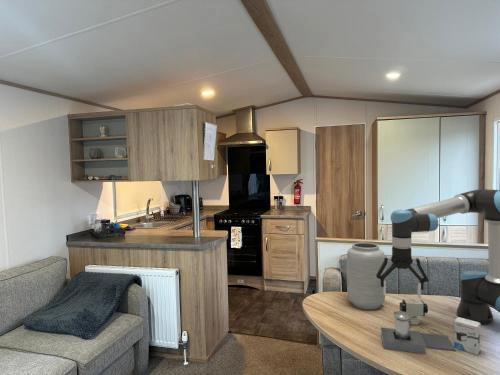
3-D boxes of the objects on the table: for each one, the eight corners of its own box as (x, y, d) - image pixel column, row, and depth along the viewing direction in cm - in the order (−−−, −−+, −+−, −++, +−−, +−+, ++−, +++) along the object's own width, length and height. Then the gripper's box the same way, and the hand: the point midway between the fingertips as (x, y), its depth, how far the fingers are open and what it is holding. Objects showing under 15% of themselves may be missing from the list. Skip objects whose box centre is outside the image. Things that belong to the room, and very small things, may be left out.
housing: (419, 339, 146) (419, 331, 146) (425, 353, 134) (425, 345, 134) (381, 334, 151) (381, 327, 150) (383, 348, 139) (383, 340, 139)
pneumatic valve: (428, 326, 157) (428, 301, 157) (401, 324, 160) (401, 300, 159) (424, 321, 163) (424, 297, 162) (399, 319, 165) (398, 296, 164)
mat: (447, 336, 147) (447, 335, 147) (455, 351, 136) (455, 349, 136) (417, 333, 151) (417, 332, 151) (423, 347, 139) (423, 346, 139)
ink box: (453, 347, 138) (453, 320, 138) (456, 343, 142) (457, 316, 141) (477, 355, 132) (478, 326, 132) (480, 350, 136) (480, 322, 135)
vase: (341, 299, 193) (340, 242, 191) (372, 295, 196) (372, 240, 194) (358, 313, 173) (357, 250, 171) (393, 309, 176) (393, 247, 175)
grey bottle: (409, 340, 145) (409, 312, 144) (412, 349, 138) (412, 318, 138) (392, 339, 147) (392, 310, 146) (394, 347, 140) (394, 317, 140)
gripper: (432, 246, 140) (432, 294, 141) (370, 243, 147) (370, 290, 149) (436, 250, 133) (436, 301, 134) (370, 247, 140) (371, 296, 141)
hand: (401, 295), depth 141 cm, fingers open, 13 cm apart
